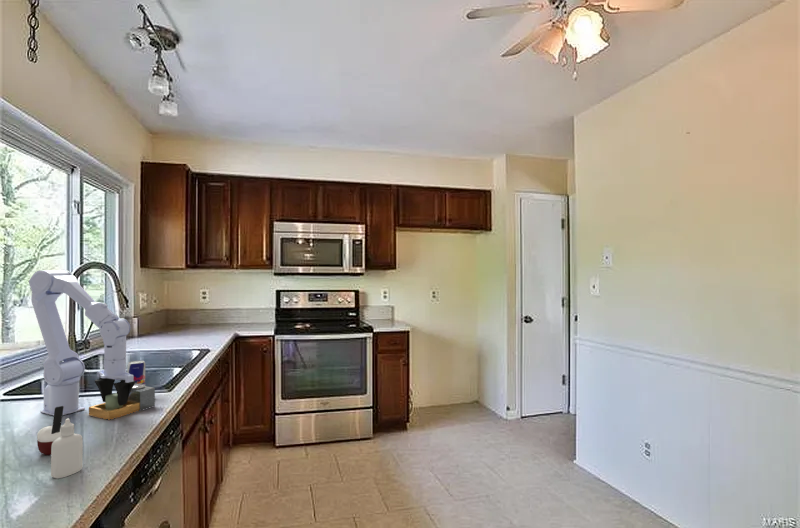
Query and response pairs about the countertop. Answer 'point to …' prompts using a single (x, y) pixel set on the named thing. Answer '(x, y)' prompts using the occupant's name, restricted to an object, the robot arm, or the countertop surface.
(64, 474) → the eye dropper bottle
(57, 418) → the cocoa
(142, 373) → the energy drink
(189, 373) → the countertop surface
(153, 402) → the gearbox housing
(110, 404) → the spout can
